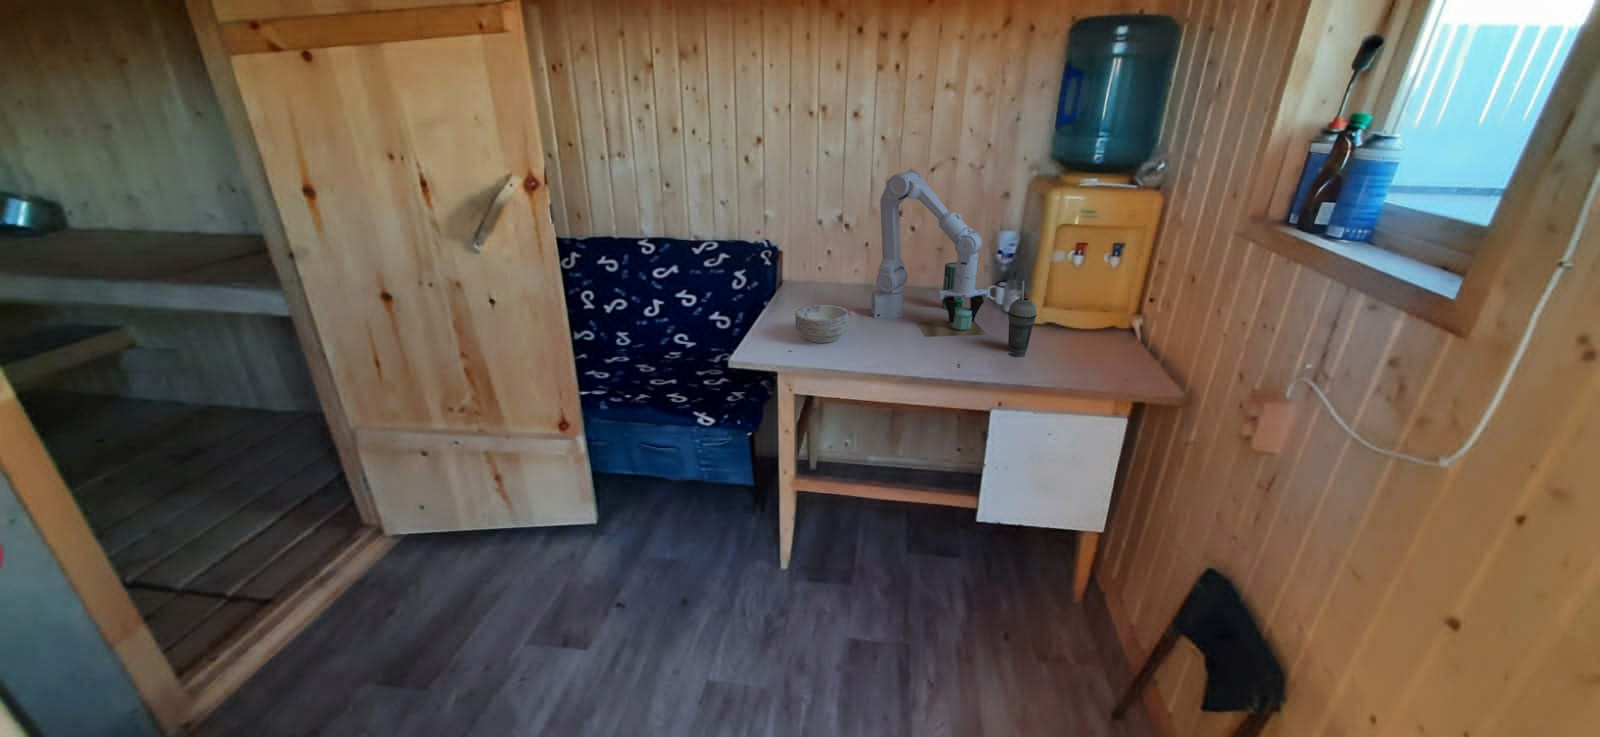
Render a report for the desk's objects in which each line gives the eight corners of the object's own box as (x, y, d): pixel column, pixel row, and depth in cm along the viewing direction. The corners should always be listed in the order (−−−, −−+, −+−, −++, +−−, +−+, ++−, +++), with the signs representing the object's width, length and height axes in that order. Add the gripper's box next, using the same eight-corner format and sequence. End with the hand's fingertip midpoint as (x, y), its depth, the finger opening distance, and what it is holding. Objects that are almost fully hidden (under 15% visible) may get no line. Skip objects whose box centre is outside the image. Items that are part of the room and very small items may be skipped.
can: (962, 313, 207) (967, 267, 201) (943, 313, 207) (947, 267, 201) (958, 307, 213) (963, 262, 207) (940, 307, 213) (943, 262, 207)
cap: (954, 329, 189) (956, 313, 187) (949, 323, 194) (950, 307, 192) (972, 329, 189) (974, 312, 187) (967, 322, 194) (968, 306, 192)
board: (925, 340, 186) (925, 336, 186) (915, 326, 197) (915, 322, 197) (987, 338, 187) (987, 334, 187) (973, 324, 198) (973, 320, 198)
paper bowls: (811, 325, 198) (811, 300, 195) (857, 334, 191) (857, 308, 188) (785, 341, 186) (785, 315, 183) (833, 351, 179) (833, 324, 176)
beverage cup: (1016, 361, 172) (1026, 287, 164) (996, 351, 178) (1005, 280, 170) (1036, 356, 175) (1047, 283, 167) (1016, 347, 181) (1026, 276, 173)
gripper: (944, 280, 181) (940, 326, 187) (995, 279, 182) (990, 325, 188) (937, 273, 188) (934, 318, 193) (987, 272, 189) (982, 316, 194)
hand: (961, 321), depth 191 cm, fingers closed on cap, 5 cm apart
